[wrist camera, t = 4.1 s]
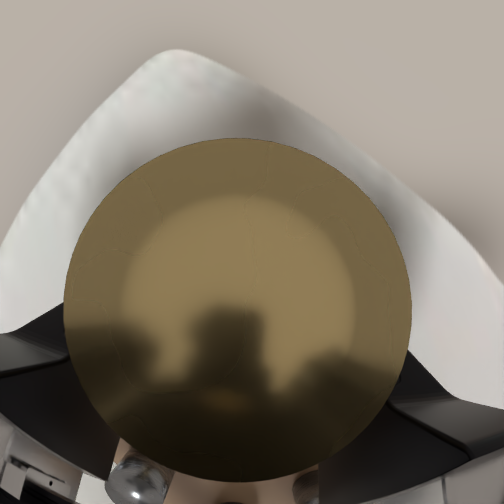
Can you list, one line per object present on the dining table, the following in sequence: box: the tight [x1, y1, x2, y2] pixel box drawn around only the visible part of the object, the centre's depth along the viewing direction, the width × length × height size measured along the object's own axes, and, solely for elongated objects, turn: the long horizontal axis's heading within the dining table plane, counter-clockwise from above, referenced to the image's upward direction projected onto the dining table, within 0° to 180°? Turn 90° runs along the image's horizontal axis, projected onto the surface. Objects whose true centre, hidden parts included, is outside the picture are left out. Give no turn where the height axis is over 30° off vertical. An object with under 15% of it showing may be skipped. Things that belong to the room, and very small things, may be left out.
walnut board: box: [114, 437, 318, 504], centre depth 14 cm, size 18×17×1 cm
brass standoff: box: [64, 138, 412, 483], centre depth 9 cm, size 4×4×12 cm
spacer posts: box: [105, 446, 319, 504], centre depth 12 cm, size 9×16×4 cm, turn 41°
